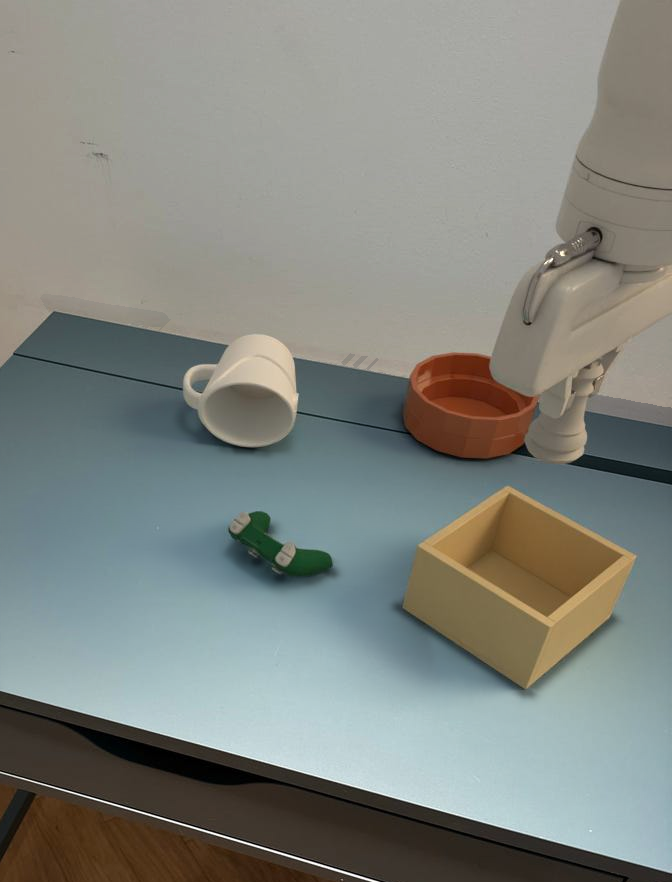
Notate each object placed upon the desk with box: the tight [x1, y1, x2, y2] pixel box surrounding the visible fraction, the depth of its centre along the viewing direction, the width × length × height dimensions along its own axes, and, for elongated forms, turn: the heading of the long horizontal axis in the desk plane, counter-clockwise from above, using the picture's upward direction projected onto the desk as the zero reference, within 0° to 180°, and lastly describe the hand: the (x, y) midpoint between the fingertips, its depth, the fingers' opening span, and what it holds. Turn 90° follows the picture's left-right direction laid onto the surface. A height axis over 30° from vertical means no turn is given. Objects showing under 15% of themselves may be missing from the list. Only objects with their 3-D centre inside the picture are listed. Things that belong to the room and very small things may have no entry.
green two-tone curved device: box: [227, 510, 334, 578], centre depth 89 cm, size 9×4×6 cm
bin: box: [401, 485, 637, 690], centre depth 83 cm, size 13×13×7 cm
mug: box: [182, 333, 299, 448], centre depth 102 cm, size 12×9×8 cm
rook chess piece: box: [524, 357, 604, 465], centre depth 73 cm, size 4×4×8 cm
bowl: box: [402, 351, 541, 459], centre depth 104 cm, size 13×13×5 cm
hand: (569, 401), depth 73 cm, fingers closed on rook chess piece, 3 cm apart
